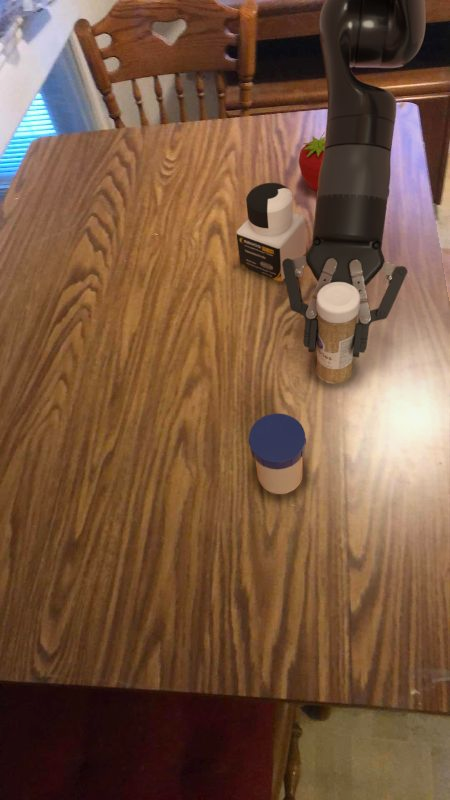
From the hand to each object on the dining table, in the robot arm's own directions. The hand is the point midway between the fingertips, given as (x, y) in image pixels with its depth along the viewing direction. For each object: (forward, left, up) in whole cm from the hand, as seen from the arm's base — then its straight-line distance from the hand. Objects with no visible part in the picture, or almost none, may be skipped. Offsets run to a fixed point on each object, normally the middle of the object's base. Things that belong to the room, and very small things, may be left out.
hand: (334, 353), depth 65 cm
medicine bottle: (+1, -24, -7) cm, 25 cm away
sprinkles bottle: (-1, -2, -6) cm, 7 cm away
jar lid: (+9, +10, +2) cm, 14 cm away
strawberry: (-10, -38, -7) cm, 39 cm away
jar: (+9, +10, -6) cm, 15 cm away
